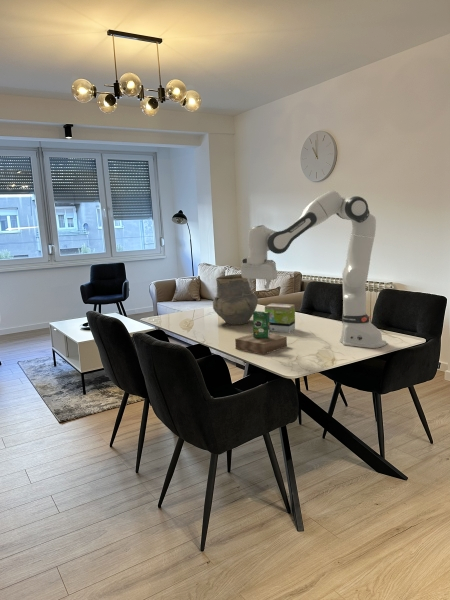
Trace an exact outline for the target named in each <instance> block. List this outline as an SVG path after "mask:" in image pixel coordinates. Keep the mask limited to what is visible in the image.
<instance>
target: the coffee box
mask: <svg viewBox="0 0 450 600" xmlns="http://www.w3.org/2000/svg"><path fill="white" fill-rule="evenodd" d="M252 327H253V329H252V331H253V332H252V334H253V337H255V338H269V334H270V331H269V312H265V311H259V310H258V311H257V310H255V311H254V312H253V315H252Z"/></svg>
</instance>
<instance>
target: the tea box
mask: <svg viewBox="0 0 450 600" xmlns="http://www.w3.org/2000/svg"><path fill="white" fill-rule="evenodd" d="M264 312H269V332H270V331H271V332H280V333H281V332H282V333H287V334H288V333H291V332H293V331H294V330H295V329H296V305H295V304H289V303H287V304H286V303H273V302H271V303H269V304H267V305H264Z"/></svg>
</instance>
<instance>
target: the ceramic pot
mask: <svg viewBox="0 0 450 600" xmlns="http://www.w3.org/2000/svg"><path fill="white" fill-rule="evenodd" d="M215 280H216V296H214V299H213V301H212V309H213V311H215V313H216V314H217V316H219V317H220V318H221V319H222V320H224V322H225V323H227V324H229V325H235V326H236V325H244V324H247V323H248V322H249V321H250V320H251V318H253V312H254V311H256V309H257V307H258V302H259V300H258V296H257V294H256V293H255V292H253V291H252V288H250V284H249V282H248V278H242V276H241V273H237V274H227V275H226V274H225V275H222V276H218V277H216V278H215Z"/></svg>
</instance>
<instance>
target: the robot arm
mask: <svg viewBox="0 0 450 600" xmlns="http://www.w3.org/2000/svg"><path fill="white" fill-rule="evenodd" d="M333 215H336V216H338V217H339V218H341V219H343V220H348V221H350V222H351V224H352V229H351V234H350V236H349V237H350V238H349V243H348V248H347V253H346V260H345V261H346V262H345V267H344V268H343V270H342V300H343V301H342V315H341V321H342V330H341V335H340V338H339V342H340V343H342V345H343V346H351V347H358V348H359V347H360V348H368V349H369V348H370V349H378V348H381V347H384V346H386V345H387V344H388V343H387V342H388V341H387V340H384V339H383V336H382V332H381V330H380V329H378V328H377V326H375V325H374V324H373V323H372V322H371V321H370V319H371V317H372V316H371V315H370V316H368V314H367V294H366V283H367V280H368V276H369V272H370V271H369V270H370V263H371V255H372V250H373V245H374V242H375V236H376V235H375V234H376V228H377V225H376V224H377V218H376V217H375V216H374V215H373V214H372V213H370V210H369V205H368V202H367V201H366V200H365V199H364V198H363V197H361V196H356V195H355V196H353V195H351V196H350V195H349V196H345V197H344V196H343V197H342V196H341V194H340V193H339V192H337V191H336V190H329V191H326V192H325V193H323V194H321V195H319V196H318V197H316V198H314V199H313V200H312V201H311V202H310V203H309V204H307V205H306V206H305V207H304V208H303V210H302V213H301V215H300V217H299V218H297V220H296V221H294V222H293V223H292V224H290V225H289V226H288V227H286V228H285V229H282V230H278V231H276V230H273V229H270V228H269V227H267V226H266V225H263V224H262V225H257V226H256V225H255V226H253V227H251V228H250V229H249V230H248V241H247V242H248V248H249V251H248V256H247V257H244V258H242V259H241V260H240V262H241V266H240V274H241V276H242V278H248V282H249V285H250V288H251V289H254V288H255V283H254V282H253V280H265V282H266V283H265V284H264V290H266V289H270V284H271V282H272V280H273V281H274V280H276V279H277V278H278V270H277V263H276V261H274V259H268V252H269V251H270V252H271V253H274V254H277V255H279V254H283V253H285V252H287V250H288V249H289V248H290V246H291V244H292V243H293V242H294V240H295V239H297V238H298V237H300V235H303V234H304V233H305V232H306V231H308V230H310V229H311V228H313V227H316V226H318V225H320V224H322V223H323V222H325V221H326V220H328V219H329V218H331V216H333Z"/></svg>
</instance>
